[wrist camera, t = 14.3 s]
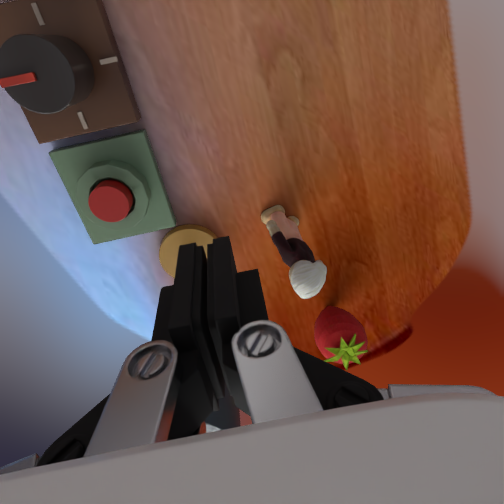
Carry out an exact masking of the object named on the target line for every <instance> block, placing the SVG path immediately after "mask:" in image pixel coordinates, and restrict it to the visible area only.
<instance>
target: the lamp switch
mask: <svg viewBox="0 0 504 504" xmlns="http://www.w3.org/2000/svg"><path fill="white" fill-rule="evenodd" d="M132 203H133V197H132V194H131V192H130V190H129V189H128V187H127V186H126V185H124V184H123V183H121V182H119V181H116V180H105V181H102V182H100V183H99V184H98V185H97V186H96V187H95V188H94V189H93V191H92V192H91V193H90V195H89V199H88V204H89V207H90V210H91V211H92V213H93V214H94V215H95V216H96V217H97V218H99V219H101V220H103V221H106V222H118V221H120V220H122V219H124V218H125V217H126V216H127V214H128V212H129V210H130V208H131V206H132Z"/></svg>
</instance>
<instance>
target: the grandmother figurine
mask: <svg viewBox="0 0 504 504" xmlns="http://www.w3.org/2000/svg"><path fill="white" fill-rule="evenodd" d="M261 219H262V221H263V223H264V224H266V227H267V229H268V230H269V233H270V235H271V237H272V240H273V242H274V244H275V245H276V247H277V248H278V250H279V253H280V255H281V257H282V260H283V261H284V262H285V263H286V264H287V265H288V266H289V267H290V271H289V278H290V281H291V284H292V286H293V289H294V290H295V292H296V293H297V294H298V295H299V296H300V297H301V298H305V299H306V298H311V297H313V296H315V295H316V294H317V293H318V292H319V291H320V289H321V288H322V286H323V285H324V283H325V280H326V274H327V268H326V266H325V265H324V264H323V262H322V261H321V260H316V261H315V259H314V255H313V253H312V251H311V250H310V248H309V247H308V245H307V244H306V243H305V242H304V241H303V240H302V238H301V235H300V233H299V230H298V227H297V226H298V225H299V220H298V218H296V217H295V216H289V217H288V218H286V216H285V210H284V208H283V207H282V206H281V205H276V206H273V207H271V208H269V209H267V210H265V211H264V212H263V213H262V215H261Z"/></svg>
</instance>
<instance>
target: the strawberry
mask: <svg viewBox="0 0 504 504" xmlns="http://www.w3.org/2000/svg"><path fill="white" fill-rule="evenodd" d="M315 341H316V344H317V346H318V348H319V350H320V351H321V353H322V354H323V355H324V356H325V357H326V358H327V359H326V360H324V361H325V362H336V363H340V364H344V366H345V369H346V370H347V368H348V364H349V363H353V362H355V363H358V364H360V362H359V360H358V359H360V358H361V357H362V355H363V354H364V353H365V352H368V350H366V348H367V337H366V333H365V330H364V328H363V326H362V325H361V323H360V322H359V321H358V320H357V319H356V318H355V317H354V316H353V315H352V314H350V313H349V312H347V311H345V310H343V309H340V308H338V307H333V306H327V307H326V308H325V309H324V310H322V312H321V313H320V315H319V316H318V318H317V320H316V322H315ZM346 367H347V368H346Z"/></svg>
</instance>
